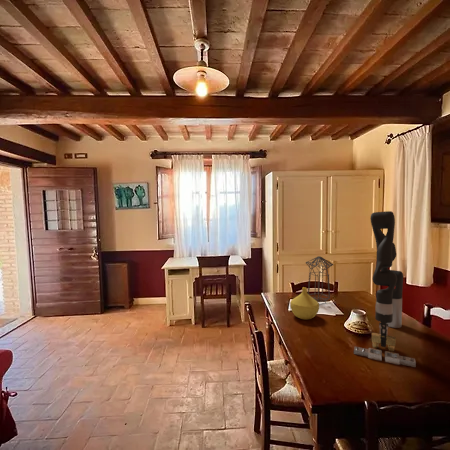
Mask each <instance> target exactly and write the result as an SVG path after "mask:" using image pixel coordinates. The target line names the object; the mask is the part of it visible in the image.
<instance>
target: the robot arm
mask: <svg viewBox="0 0 450 450" xmlns="http://www.w3.org/2000/svg"><path fill="white" fill-rule="evenodd" d="M370 224H371V227H372V231H373V235H374V238H375V244H376V245H375V246H376V265H375V269H374V272H373V273H372V274H373V275H372V282H373V284H374V285H376V286H383V287H387V288H383V289H378V290H377V291H376V293H375V296H376V299H375V312H374V313H375V314H374V315H375V316H374V317H375V320H376V321H378V322H379V326H378V328H379V334H381V337H380V339H381V343H380V347H382V348H386V347H387V344H386V340H387V338H386V337H387V335H388V333H389V332H388V330H389V328H393V329H394V328H395V329H398V328H399V329H400V328H402V322H403V321H402V320H403V317H402V315H403V289H404V288H403V287H404V273H403V271H401V270H395V269H389V268H391V267H393V262H394V261H395V259H396V258H397V248H396V245H395V243H394V238H395V237H394V236H395V228H396V227H395V226H396V219H395V214H394V212H393V211H390V210H386V211H375V212H372V213H371V214H370ZM384 229H386V233H383V231H382V230H384ZM382 336H385V337H382ZM388 336H389V335H388Z"/></svg>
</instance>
